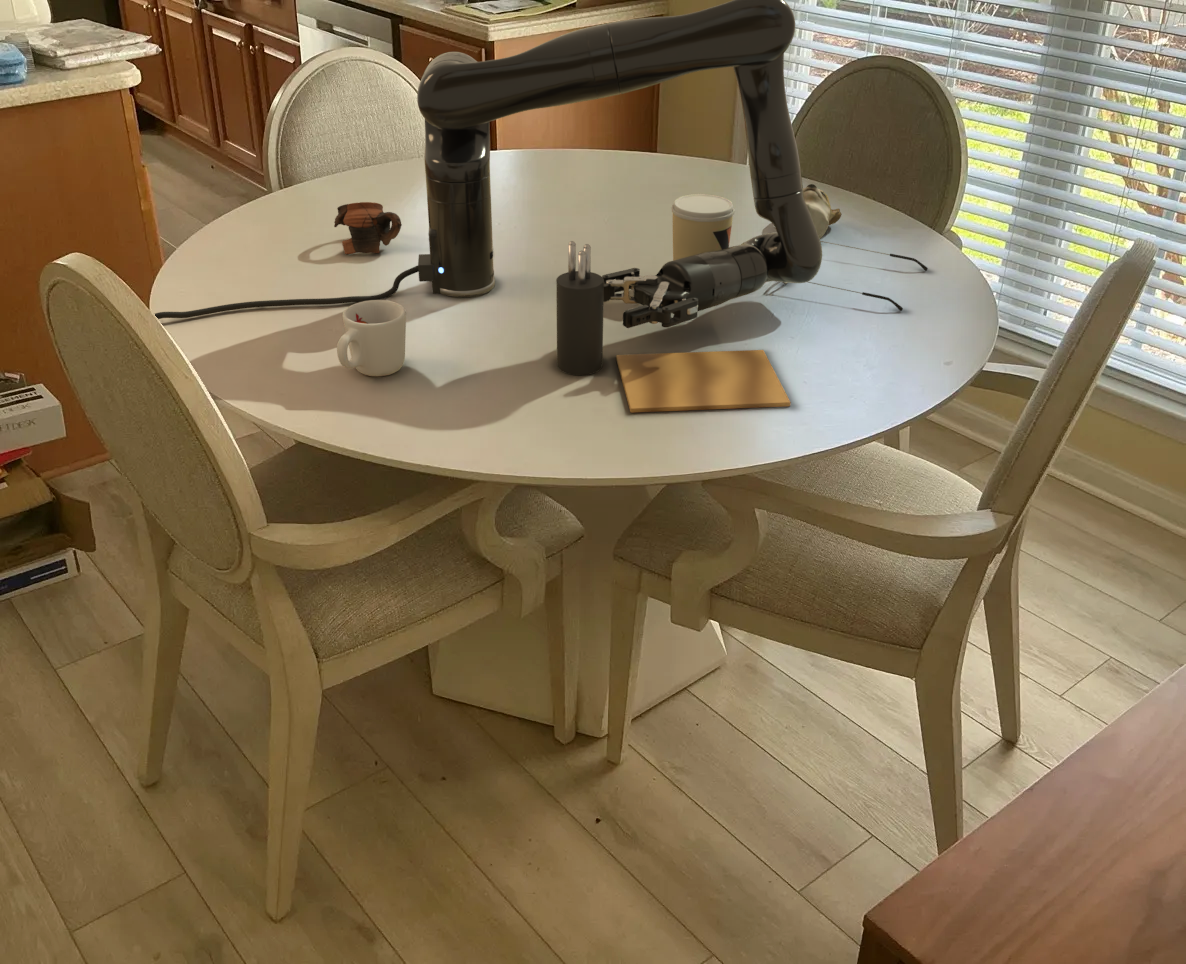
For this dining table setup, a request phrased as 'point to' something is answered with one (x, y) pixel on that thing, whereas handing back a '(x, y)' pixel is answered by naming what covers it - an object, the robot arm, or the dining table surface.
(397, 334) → the cup
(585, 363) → the cutlery holder
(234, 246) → the dining table surface
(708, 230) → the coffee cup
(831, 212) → the ceramic sculpture
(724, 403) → the wooden board
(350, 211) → the pottery mug
